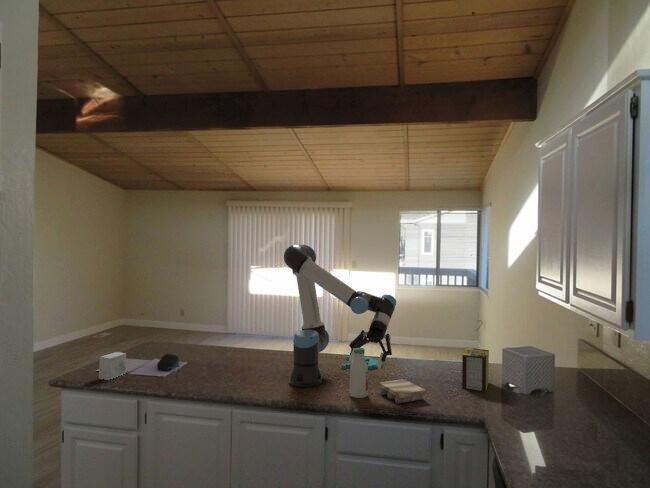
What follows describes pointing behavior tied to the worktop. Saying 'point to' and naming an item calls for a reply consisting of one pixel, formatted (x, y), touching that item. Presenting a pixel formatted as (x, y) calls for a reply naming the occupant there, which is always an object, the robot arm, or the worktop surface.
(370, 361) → the alien figure
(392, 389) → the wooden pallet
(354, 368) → the milk bottle
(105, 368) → the skincare box
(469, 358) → the protein box
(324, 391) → the worktop surface
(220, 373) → the worktop surface
